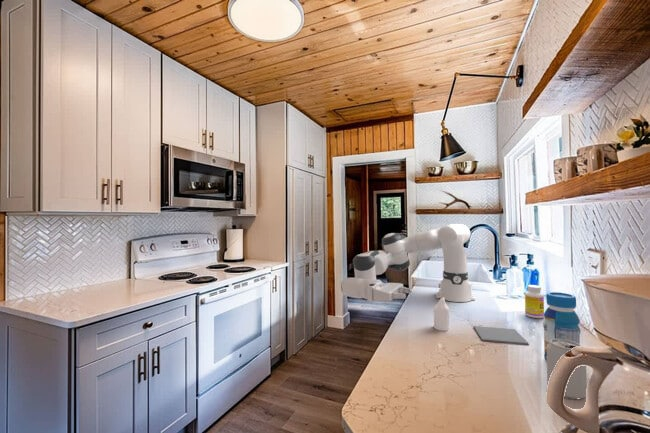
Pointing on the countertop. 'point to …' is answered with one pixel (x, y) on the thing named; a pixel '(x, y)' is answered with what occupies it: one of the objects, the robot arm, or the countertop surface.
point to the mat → (500, 335)
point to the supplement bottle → (534, 302)
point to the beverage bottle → (560, 319)
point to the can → (578, 378)
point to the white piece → (441, 316)
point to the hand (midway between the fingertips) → (408, 293)
